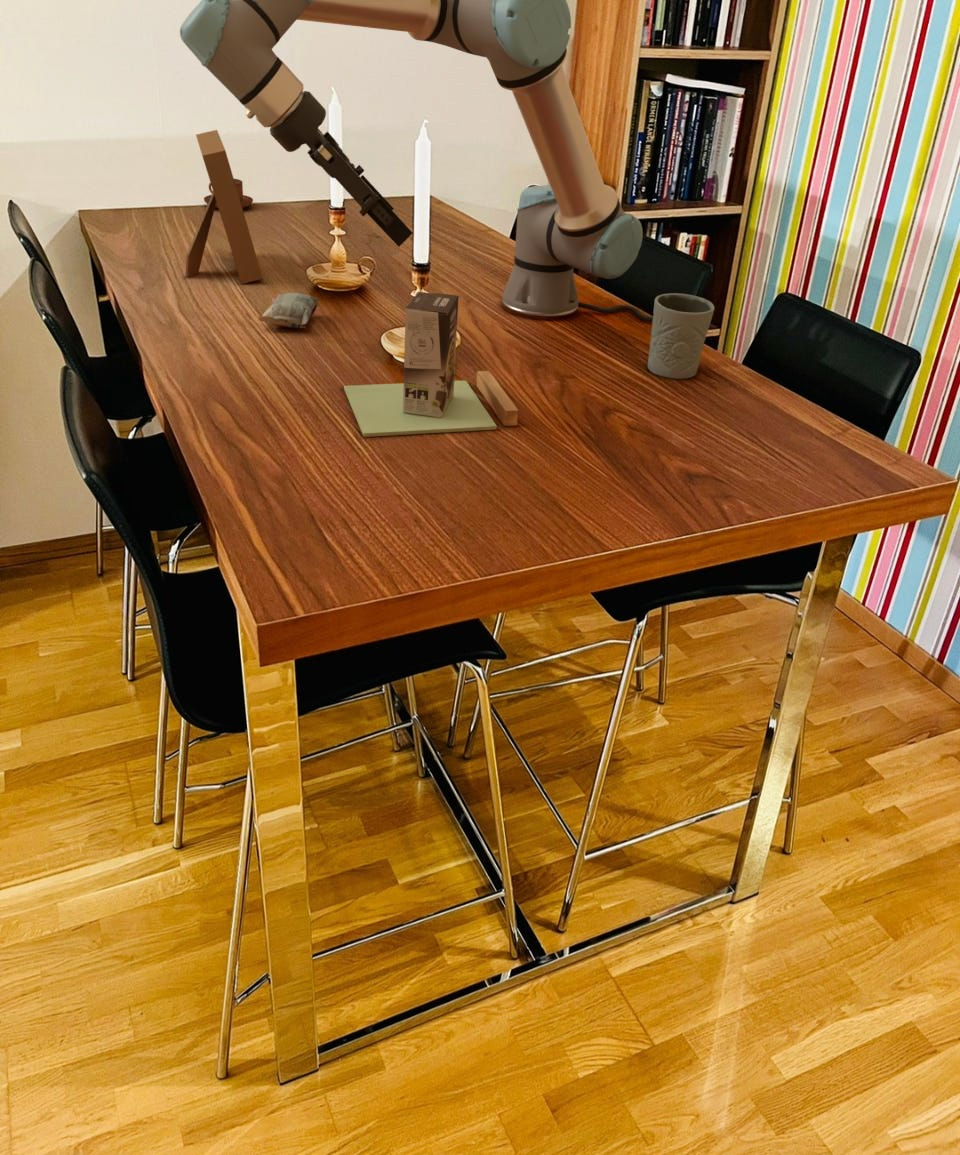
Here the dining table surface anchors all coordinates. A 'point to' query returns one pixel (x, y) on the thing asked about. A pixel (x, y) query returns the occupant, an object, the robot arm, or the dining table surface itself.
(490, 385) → the rail
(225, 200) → the photo frame
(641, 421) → the dining table surface
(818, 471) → the dining table surface
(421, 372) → the coffee box
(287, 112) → the robot arm
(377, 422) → the mat
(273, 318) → the grey bean bag
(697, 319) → the grey embossed cup
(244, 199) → the cup and saucer
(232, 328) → the dining table surface
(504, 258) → the dining table surface
